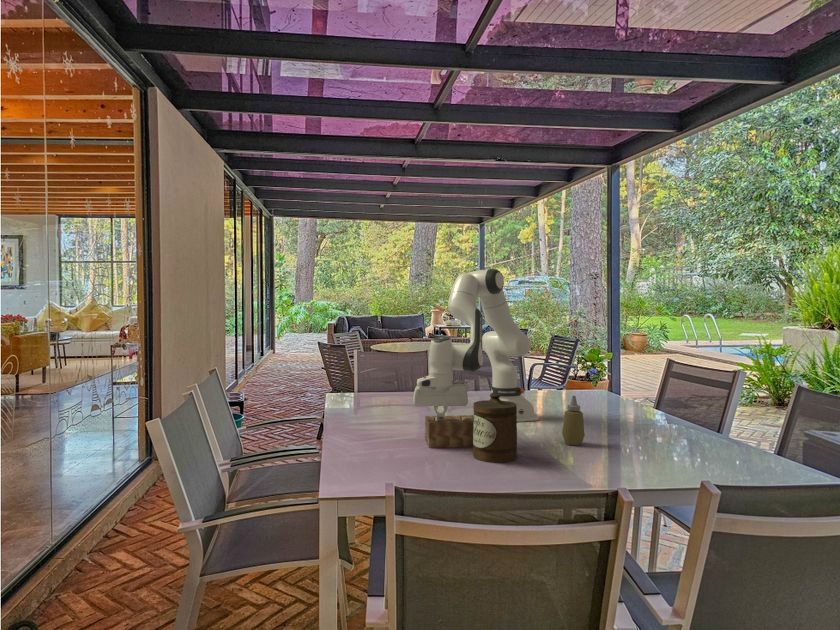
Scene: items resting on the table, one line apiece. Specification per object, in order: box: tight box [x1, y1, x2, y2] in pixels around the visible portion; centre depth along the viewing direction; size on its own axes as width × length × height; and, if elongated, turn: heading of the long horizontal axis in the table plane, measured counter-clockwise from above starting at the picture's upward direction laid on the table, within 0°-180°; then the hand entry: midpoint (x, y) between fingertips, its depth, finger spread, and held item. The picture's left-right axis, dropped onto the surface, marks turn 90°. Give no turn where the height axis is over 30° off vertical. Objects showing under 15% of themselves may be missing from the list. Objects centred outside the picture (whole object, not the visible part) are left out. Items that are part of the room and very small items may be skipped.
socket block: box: [424, 414, 474, 449], centre depth 215 cm, size 20×12×9 cm, turn 96°
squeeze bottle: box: [561, 395, 585, 447], centre depth 214 cm, size 8×8×18 cm
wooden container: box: [472, 392, 518, 463], centre depth 197 cm, size 15×15×22 cm
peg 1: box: [435, 418, 446, 421], centre depth 214 cm, size 4×4×8 cm
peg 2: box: [462, 417, 473, 420], centre depth 215 cm, size 4×4×8 cm
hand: (440, 418), depth 214 cm, fingers closed, pressing on peg 1
